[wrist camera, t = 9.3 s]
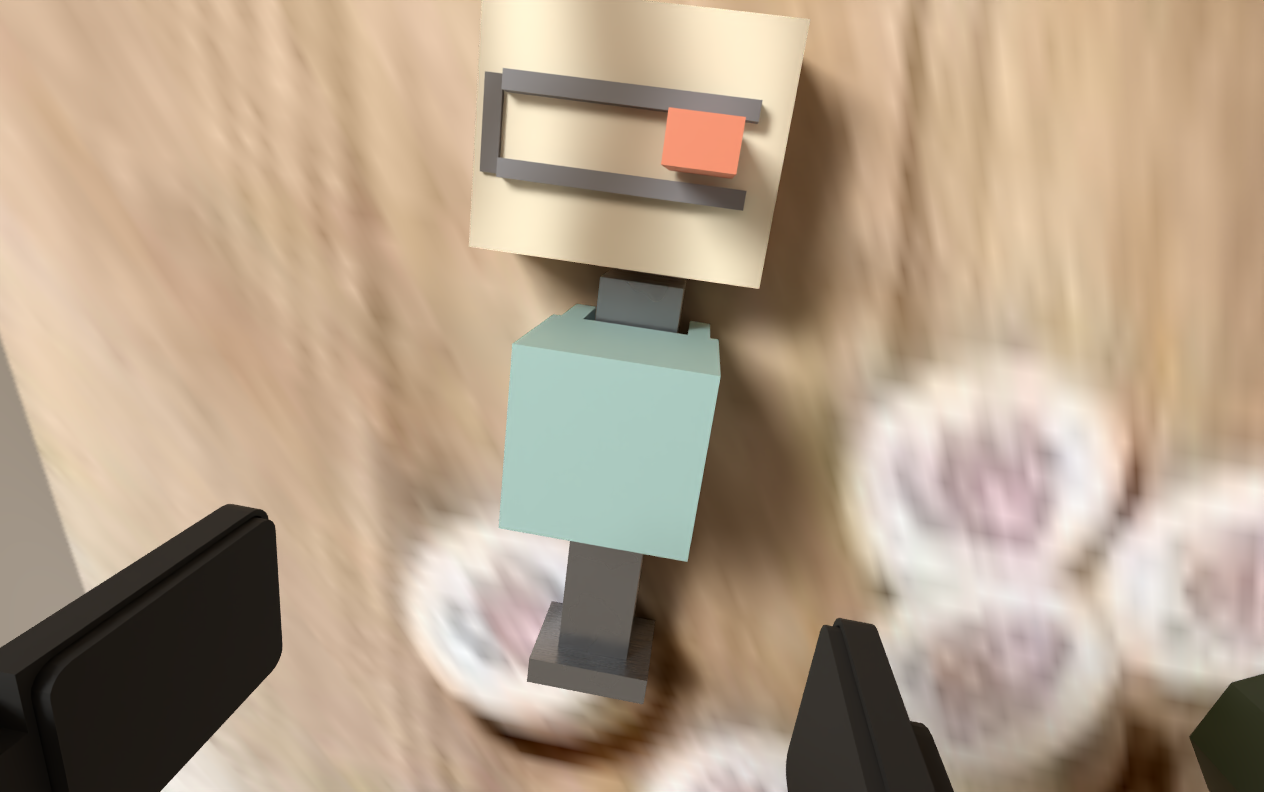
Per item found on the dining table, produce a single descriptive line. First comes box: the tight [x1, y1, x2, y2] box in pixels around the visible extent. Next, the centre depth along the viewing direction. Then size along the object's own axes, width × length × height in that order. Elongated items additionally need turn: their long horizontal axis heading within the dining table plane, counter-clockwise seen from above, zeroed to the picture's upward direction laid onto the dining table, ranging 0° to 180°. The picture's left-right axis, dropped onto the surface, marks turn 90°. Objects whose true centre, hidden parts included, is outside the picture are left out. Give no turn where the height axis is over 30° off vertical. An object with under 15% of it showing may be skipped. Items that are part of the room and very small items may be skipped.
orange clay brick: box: [661, 107, 746, 179], centre depth 18 cm, size 2×1×4 cm
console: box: [469, 0, 810, 289], centre depth 22 cm, size 10×8×5 cm
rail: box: [527, 268, 687, 704], centre depth 26 cm, size 5×17×4 cm, turn 172°
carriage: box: [499, 304, 721, 562], centre depth 23 cm, size 6×6×8 cm
